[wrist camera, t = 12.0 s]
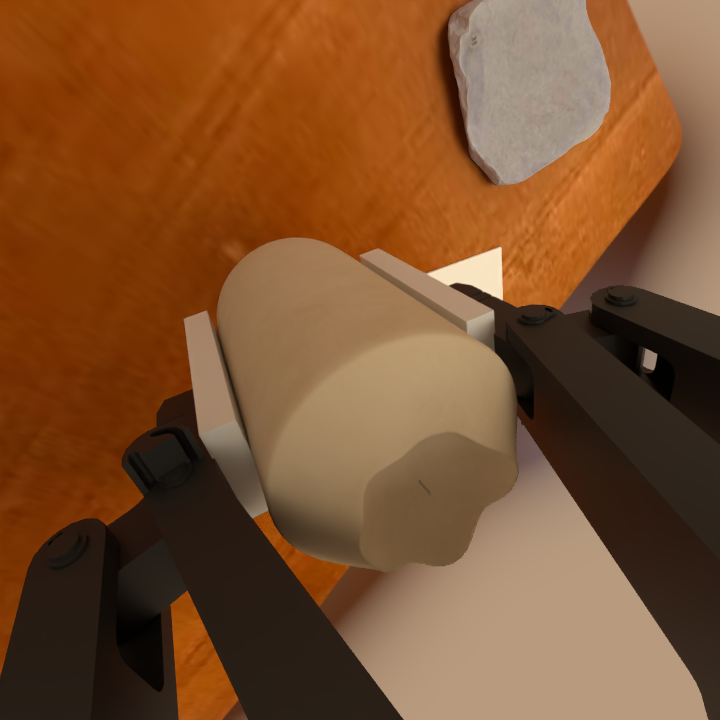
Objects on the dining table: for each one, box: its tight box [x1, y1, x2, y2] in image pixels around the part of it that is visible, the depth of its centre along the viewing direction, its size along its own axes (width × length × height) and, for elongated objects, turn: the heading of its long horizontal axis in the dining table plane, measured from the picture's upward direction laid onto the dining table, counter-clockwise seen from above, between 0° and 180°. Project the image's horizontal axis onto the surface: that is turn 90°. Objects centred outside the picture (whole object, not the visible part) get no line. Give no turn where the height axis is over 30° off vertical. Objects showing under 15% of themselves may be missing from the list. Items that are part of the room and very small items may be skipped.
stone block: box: [448, 0, 611, 186], centre depth 29 cm, size 12×5×10 cm
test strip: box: [425, 246, 503, 300], centre depth 35 cm, size 20×6×1 cm, turn 103°
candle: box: [216, 238, 519, 572], centre depth 11 cm, size 6×6×10 cm
